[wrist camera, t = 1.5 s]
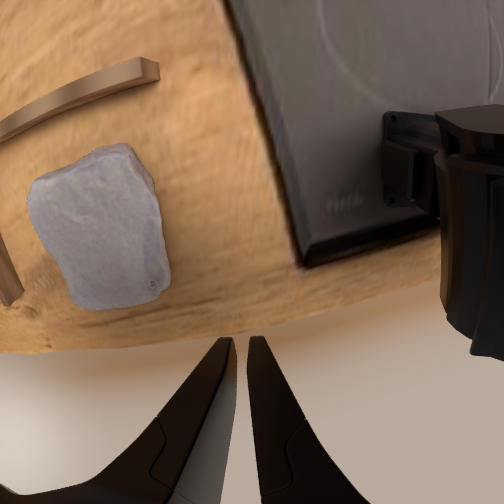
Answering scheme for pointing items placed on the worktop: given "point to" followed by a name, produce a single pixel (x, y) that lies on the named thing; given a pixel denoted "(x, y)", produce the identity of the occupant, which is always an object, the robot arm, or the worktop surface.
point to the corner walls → (62, 99)
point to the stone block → (103, 228)
